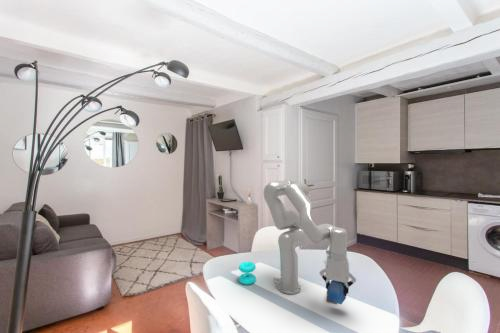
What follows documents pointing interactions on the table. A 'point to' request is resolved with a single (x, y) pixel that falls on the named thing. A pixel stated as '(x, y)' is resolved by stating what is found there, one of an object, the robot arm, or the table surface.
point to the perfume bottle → (336, 292)
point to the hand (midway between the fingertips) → (337, 292)
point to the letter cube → (329, 300)
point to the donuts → (247, 273)
